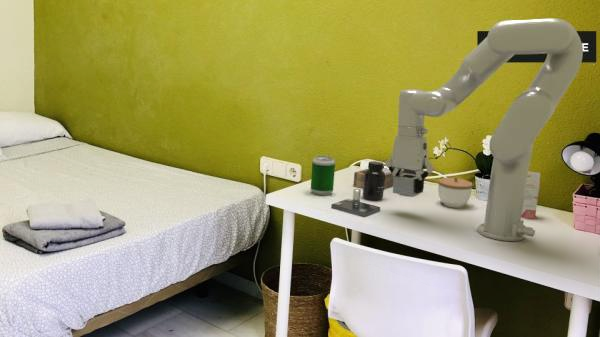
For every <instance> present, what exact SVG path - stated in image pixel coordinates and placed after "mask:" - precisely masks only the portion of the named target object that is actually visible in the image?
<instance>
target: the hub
mask: <svg viewBox="0 0 600 337" xmlns="http://www.w3.org/2000/svg"><path fill="white" fill-rule="evenodd" d="M417 180H418V177H417V175H414V174H408V173H403V174H400V175H397V176H394V178H393V186H392V193H393V194H396V195H400V194H402V195H401V196H405V195H408V196H407V197H416V195H420V194H422V193H424V190H423V191H422V192H420V193H416V181H417Z"/></svg>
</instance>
